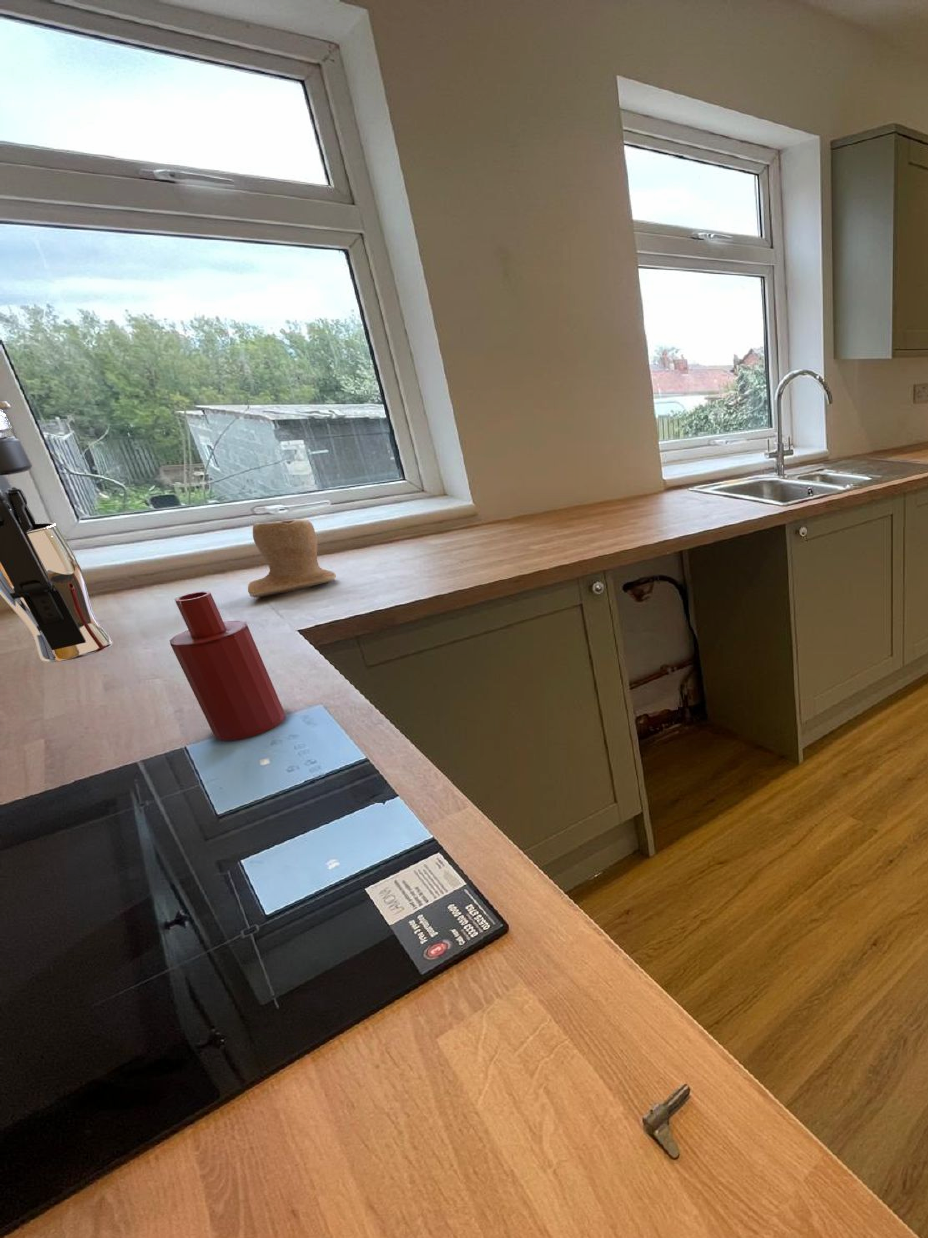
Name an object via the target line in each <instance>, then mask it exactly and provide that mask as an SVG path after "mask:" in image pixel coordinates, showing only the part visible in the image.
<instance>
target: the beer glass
mask: <svg viewBox="0 0 928 1238" xmlns="http://www.w3.org/2000/svg"><path fill="white" fill-rule="evenodd" d="M33 529H34V530H32V531H27V534H28V536H29V538H30V540H31V542H32V544H33V546H34V548H35V550H36V552H37V554H38V556H39V558H40V559H41V561H42V563H43V565H44V567H45V569H46V571H47V573H48V575H49V577H50V579H51V581H52V583H53V584H54V585H55V587H56V588H55V590H56V589H59V591H60V593H61V595H62V597H63V599H64V601H65V602H66V604H67V606H68V608H69V610H70V612H71V614H72V616H73V618H74V619H75V621H76V623H77V625H78V627H79V629H80V631H81V633H82V635H83V636H84V638H85V640H86V643H82V644H78V645H73V646H69V647H64V648H60V649H56V650H52V649H51V647H50V645H49V644H48V642H47V640H46V638H45V636H44V635H43V633H42V631H41V629H40V627H39V626H38V624H37V622H36V620H35V618H34V617H33V615H32V613H31V611H30V609H29V608H28V606H27V604H26V602H25V600H24V599H23V598H17V599H13V598H12V597H11V595H10V593H15V591H14V589H13V588H14V587H13V585H12V583H11V581H10V579H9V577H8V576H7V574H6V572H5V570H4V568H3V566H2V564H1V563H0V596H1V597H2V599H3V600H4V601H5V602H6V603H7V604H8V605H9V607H11V609H12V610H13V611H14V612H15V613H16V614H17V616H18V617H19V618H20V619H21V620H22V622H23V623H24V624H25V626H26V627H27V628H28V629H29V631H30V632H31V635H32V637H33V638H34V642H35V644H36V649H37V653H38V656H39V659H40V661H41V662H43V663H59V662H66V661H71V660H76V659H80V658H84V657H88V656H91V655H94V654H96V653H97V654H98V653H99V652H102V651H104V650H106V649H108V648H110V647H111V646H112V645H114V644H113V643H114V642H113V639H112V638H111V637H110V635H109V634H108V633H107V632H106V630H104V628H103V627H102V626H101V625H100V623H99V622H98V619H97V618H96V616H95V613H94V611H93V609H92V605H91V601H90V597H89V593H88V589H87V585H86V579H85V576H84V574H83V571H82V568H81V565H80V564H79V561H78V559H77V557H76V555H75V553H74V551H73V550H72V548H71V546H70V544H69V543H68V541H67V539H66V537H64V535H63V533H62V532H61V530H60V528H59V527H58V525H57V523H56V522H38V523H36V522H35V526H34V527H33ZM33 581H37V580H33ZM27 582H31V581H27ZM24 583H26V582H24Z"/></svg>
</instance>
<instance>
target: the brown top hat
mask: <svg viewBox="0 0 928 1238" xmlns="http://www.w3.org/2000/svg"><path fill="white" fill-rule="evenodd" d="M252 538H253V542H254V544H255V546H256V548H257V549H258V551H259V552H260V554H261V556H262V557H263V559H264V560H265V562H266V563H267V565H268V568H269V572H268V574H267V575H266V576H264V577H262V578H259V579H256V580H253V581H249V583H248V585H247V593H248V594H249V596H250V598H260V597H261V598H262V597H266V596H267V597H268V596H272V595H273V596H274V595H277V594H278V595H279V594H282V593H288V592H292V591H298V590H301V589H306V588H309V587H314V586H317V585H320V584H324V583H328V582H331V581H333V580H335V578H336V576H337V575H336V573H335V572H334V571H331V570H327V569H323V567H320V565H319V562H318V561H319V560H318V537H317V534H316V532H315V527H314V524H313V523H312V522H311V520H310V521H309V519H306V518H305V519H304V518H297V519H288V520H286V519H285V520H279V521H269V522H267V521H266V522H256V523H254V524H253V525H252Z"/></svg>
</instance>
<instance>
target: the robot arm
mask: <svg viewBox="0 0 928 1238" xmlns="http://www.w3.org/2000/svg"><path fill="white" fill-rule="evenodd" d="M11 406H12V405H10V404H9V403H8V401H3V400H2V401H1V400H0V563H1V564H2V566H3V568H4V570H5V572H6V574H7V576H8V577H9V579H10V581H11V583H12V585H13V587H14V588H13V589H14V591H15V593H10V595H11V597H12V598H13V599H17V598H23V599H24V600H25V602H26V604H27V606H28V608H29V609H30V611H31V613H32V615H33V617H34V618H35V620H36V622H37V624H38V626H39V627H40V629H41V631H42V633H43V635H44V636H45V638H46V640H47V642H48V644H49V645H50V647H51V649H52V650H56V649H60V648H64V647H69V646H73V645H78V644H82V643H86V640H85V638H84V636H83V635H82V633H81V631H80V629H79V627H78V625H77V623H76V621H75V619H74V618H73V616H72V614H71V612H70V610H69V608H68V606H67V604H66V602H65V601H64V599H63V597H62V595H61V593H60V591H59V589H56V590H55V588H56V587H55V585H54V584H53V583H52V581H51V579H50V577H49V575H48V573H47V571H46V569H45V567H44V565H43V563H42V561H41V559H40V558H39V556H38V554H37V552H36V550H35V548H34V546H33V544H32V542H31V540H30V538H29V536H28V534H27V531H32V530H34V529H33V527H34V526H35V524H36V519H35V516H34V515H33V513H32V511H31V510H30V507H28V501H27V500H28V499H27V497H26V495H25V493H24V492H23V490H22V488H18V487H17V486H14V487H12V486H11V485H10V482H9V481H8V479H7V478H6V476H10V475H16V474H21V473H25V472H28V471H30V470H31V469H32V468H33V467H32V466H33V465H32V462H31V460H30V459H29V456H28V455H27V452H26V450H25V449H24V447H23V444H22V443H21V440H20V439H19V438H16V436H14V435H8V434H7V432H10V431H11V430H12V429H13V426H12V424H11V423H10V420H9V419H8V416H7V415H6V413H4V412H6V411H7V412H8V411H11V409H12V407H11ZM33 580H37V581H33ZM27 581H31V582H27ZM24 582H26V583H24Z"/></svg>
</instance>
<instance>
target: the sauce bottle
mask: <svg viewBox="0 0 928 1238" xmlns="http://www.w3.org/2000/svg"><path fill="white" fill-rule="evenodd" d="M174 602H175V604H176V606H177V608H178V611H179V613H180V615H181V617H182V620H183V621H184V623H185V625H186V627H187V630H186V631H183V632H181V633H178V634H176V635H174V636H173V637H172V638H171V639H169V645H170V646H171V648H172V651H173V653H174V656H175V657H176V660H177V662H178V664H179V665H180V667H181V669H182V672H183V674H184V676H185V677H186V680H187V683H188V684H189V686H190V689H191V690H192V692H193V694H194V696H195V699H196V701H197V703H198V705H199V707H200V709H201V711H202V713H203V715H204V717H205V719H206V722H207V723H208V726H209V727H210V730H211V732H212V734H213V736H214V737H215V739H216V740H217V741H222V742H233V741H240V740H245V739H249V738H252V737H255V736H258V735H261V734H263V733H265V732H268V731H270V730H272V729H274V728H275V727H277V726H279V725H280V724H282V723H283V722H284V721H285V719H286V712H285V710H284V708H283V706H282V703H281V701H280V699H279V696H278V694H277V691H276V689H275V686H274V685H273V682H272V680H271V677H270V675H269V673H268V671H267V668H266V666H265V663H264V661H263V658H262V657H261V654H260V652H259V651H260V650H258V646H257V645H256V642H255V640H254V637H253V635H252V633H251V631H250V628H249V626H248V623H247V621H243V620H225V621H224V619H223V618H222V615H221V613H220V610H219V608H218V605H217V604H216V601H215V599H214V597H213V594H212V593H211V591H210V590H209V591H207V590H203V591H202V590H201V591H195V592H189V593H186V594H183V595H180V596H178V597H176V598H174Z"/></svg>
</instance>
